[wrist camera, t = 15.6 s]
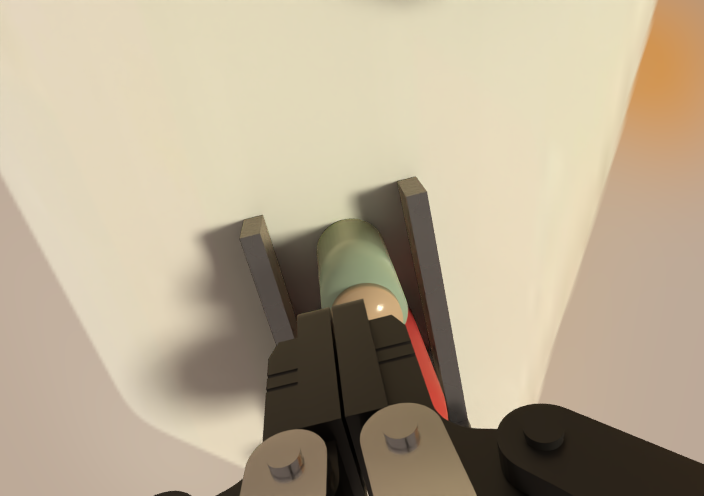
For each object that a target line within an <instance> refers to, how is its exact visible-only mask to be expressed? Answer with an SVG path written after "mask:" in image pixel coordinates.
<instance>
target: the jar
mask: <svg viewBox="0 0 704 496" xmlns="http://www.w3.org/2000/svg"><path fill="white" fill-rule="evenodd" d="M317 263H318V275H319V286H320V297H321V308H322V309H323V308H327V307H330V309H331V312H332V306H335V305H339V304H343V303H347V302H351V301H355V300H359V299H364V303H365V307H366V311H367V315H368V319H369V320H372V319H376V318H380V317H384V316H388V315H393V316H394V317H396V318H397V319H398V320H400V321H401V322H402V323H403V324H405V323H406V321H407V317H408V305H407V301H406V298H405V296H404V293H403V290H402V288H401V285H400V282H399V280H398V277H397V275H396V272H395V269H394V267H393V264H392V262H391V259H390V256H389V254H388V251H387V248H386V246H385V243H384V241H383V238H382V236H381V234H380V232H379V231H378V230H377V229H376V228H375V227H374V226H373V225H371V224H370V223H368V222H366V221H363V220H360V219H344V220H340V221H338V222H336V223H334V224H332V225H331V226H329V227H328V228H327V229H326V230H325V231H324V232H323V233H322V235H321V236H320V238H319V241H318V244H317ZM332 316H333V314H332Z"/></svg>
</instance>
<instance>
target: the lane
mask: <svg viewBox="0 0 704 496" xmlns="http://www.w3.org/2000/svg"><path fill="white" fill-rule="evenodd" d="M397 183H398V188H399V193H400V198H401V203H402V208H403V213H404V218H405V223H406V228H407V233H408V238H409V243H410V248H411V253H412V258H413V263H414V267H415V272H416V277H417V282H418V287H419V292H420V297H421V302H422V307H423V312H424V317H425V322H426V327H427V332H428V337H429V342H430V347H431V351H432V356H433V361H434V366H435V371H436V376H437V378H438V381H439V383H440V387H441V389H442V392H443V394H444V397H445V402H446V407H447V412H448V421H449V422H452V423H454V424H456V425H459V426H462V427H467V428H471V426H470V423H469V421H468V418H467V412H466V407H465V401H464V395H463V390H462V384H461V379H460V373H459V368H458V362H457V357H456V351H455V345H454V340H453V334H452V329H451V323H450V318H449V312H448V306H447V301H446V295H445V290H444V284H443V279H442V273H441V267H440V262H439V256H438V251H437V245H436V240H435V234H434V229H433V223H432V217H431V212H430V206H429V201H428V195H427V191H426V190H425V188H424V187H423V186H422V184H421V183H420V181H419V180H418V179H417V177H413V178H409V179H405V180H401V181H397ZM239 239H240V242H241V244H242V247H243V250H244V253H245V256H246V259H247V262H248V265H249V268H250V270H251V273H252V276H253V279H254V282H255V285H256V288H257V291H258V294H259V296H260V299H261V302H262V305H263V308H264V311H265V314H266V317H267V320H268V323H269V325H270V328H271V331H272V334H273V337H274V340H275V343H276V346H277V345H278V343H279V342H282V341H286V340H291V339H295V338H297V320H296V317H295V314H294V311H293V308H292V305H291V301H290V298H289V295H288V292H287V289H286V286H285V283H284V280H283V276H282V273H281V270H280V267H279V264H278V261H277V258H276V254H275V251H274V248H273V245H272V242H271V239H270V236H269V233H268V229H267V226H266V223H265V220H264V217H263V215H261V216H257V217H253V218H249V219H245V220H244V222H243V226H242V230H241V234H240V238H239Z"/></svg>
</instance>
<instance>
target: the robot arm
mask: <svg viewBox="0 0 704 496" xmlns="http://www.w3.org/2000/svg"><path fill="white" fill-rule="evenodd" d="M332 314H333V316H332ZM267 376H268V379H267V387H266V390H267V393H266V402H265V416H264V430H263V443H261V444H260V445H259V446H258V447H257V448H256V449H255V450H254V451H253V453H252V454H251V456H250V457H249V459H248V461H247V463H246V467H245V471H244V476H243V479H242V480H241V481H239V482H238V483H237V484H235V485H234V486H232V487H231V488H229V489H227V490H226V491H224V492H222V493H220V494H219V495H216V496H368V495H369V496H704V464H702V463H699V462H697V461H694V460H692V459H689V458H687V457H684V456H682V455H680V454H677V453H675V452H672V451H670V450H667V449H665V448H662V447H660V446H657V445H655V444H653V443H650V442H648V441H645V440H643V439H640V438H638V437H635V436H633V435H630V434H628V433H625V432H623V431H621V430H618V429H616V428H613V427H611V426H608V425H606V424H603V423H601V422H598V421H596V420H593V419H591V418H589V417H586V416H584V415H581V414H579V413H576V412H574V411H571V410H569V409H566V408H563V407H560V406H557V405H551V404H531V405H526V406H523V407H520V408H517V409H515V410H513V411H512V412H510V413H509V414H507V415H506V416H505V417H504V418H503V420H502V421H501V422H500V424H499V427H498V429H476V428H467V427H462V426H459V425H456V424H454V423H452V422H449V421H448V420H446V419H445V418H443V417H442V416H441V415H440V414H439V413H438V412H437V411H436V409H435V408H434V406H433V403H432V401H431V398H430V395H429V392H428V389H427V386H426V383H425V380H424V377H423V374H422V372H421V369H420V366H419V363H418V360H417V357H416V355H415V351H414V348H413V345H412V343H411V339H410V337H409V334H408V331H407V328H406V325H405V324H403V323H402V322H401V321H400V320H398V319H397V318H396V317H394V316H393V315H388V316H384V317H380V318H376V319H372V320H369V319H368V315H367V311H366V307H365V303H364V299H359V300H355V301H351V302H347V303H343V304H339V305H335V306H332V312H331V309H330V307H327V308H323V309H319V310H315V311H311V312H307V313H302V314H298V315H297V338H295V339H291V340H286V341H282V342H279V343H278V345H277V346H276V348H275V349H274V351H273V353H272V354H271V356H270V357H269V359H268V373H267ZM367 492H368V495H367ZM155 496H191V495H189V494H188V493H185V492H181V491H168V492H164V493H160V494H157V495H155Z"/></svg>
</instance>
